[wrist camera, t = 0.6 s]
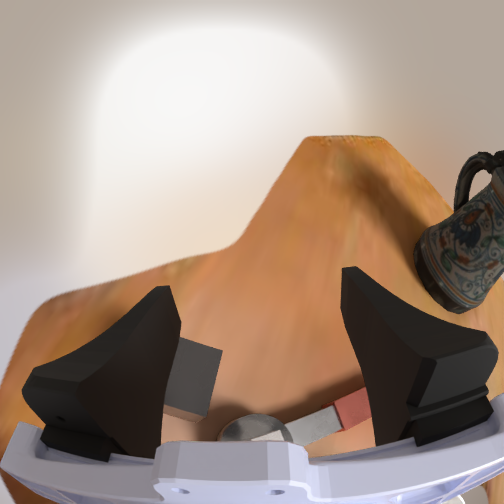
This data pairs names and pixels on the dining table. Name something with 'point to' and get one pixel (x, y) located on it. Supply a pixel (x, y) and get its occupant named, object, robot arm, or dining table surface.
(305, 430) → the ratchet
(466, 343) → the robot arm
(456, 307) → the beer stein
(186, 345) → the brushed steel cube
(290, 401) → the dining table surface
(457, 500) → the white cup
